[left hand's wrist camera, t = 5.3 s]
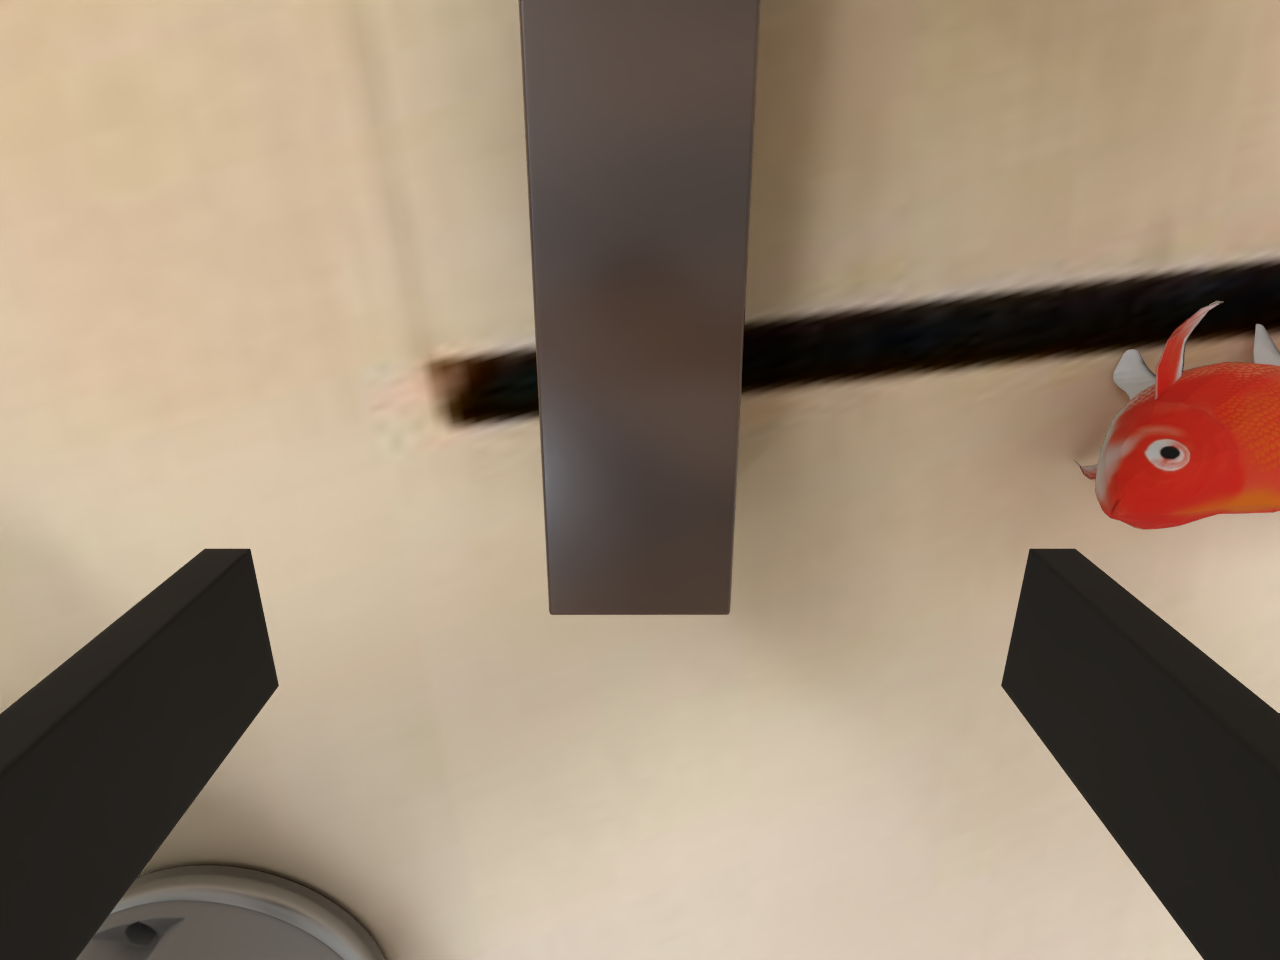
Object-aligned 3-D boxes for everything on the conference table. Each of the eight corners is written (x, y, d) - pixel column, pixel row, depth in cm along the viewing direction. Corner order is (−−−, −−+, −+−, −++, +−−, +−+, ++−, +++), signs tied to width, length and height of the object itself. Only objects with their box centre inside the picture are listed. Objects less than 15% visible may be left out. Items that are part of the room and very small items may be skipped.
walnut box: (706, 504, 28) (730, 615, 20) (573, 504, 28) (548, 615, 20) (747, -687, 17) (828, -1362, 10) (531, -687, 17) (449, -1362, 10)
